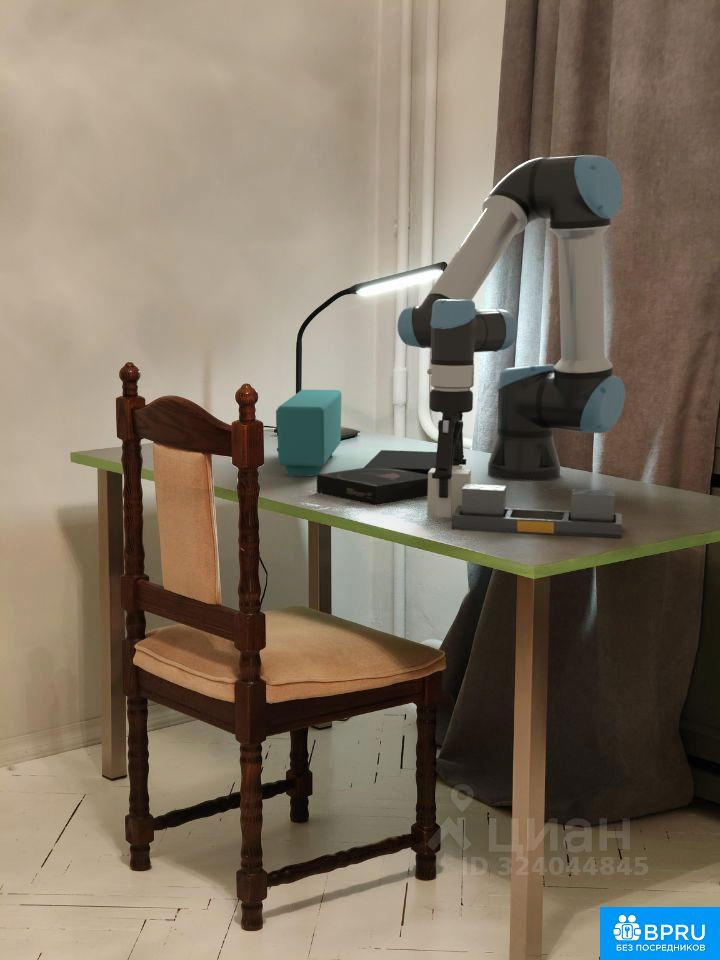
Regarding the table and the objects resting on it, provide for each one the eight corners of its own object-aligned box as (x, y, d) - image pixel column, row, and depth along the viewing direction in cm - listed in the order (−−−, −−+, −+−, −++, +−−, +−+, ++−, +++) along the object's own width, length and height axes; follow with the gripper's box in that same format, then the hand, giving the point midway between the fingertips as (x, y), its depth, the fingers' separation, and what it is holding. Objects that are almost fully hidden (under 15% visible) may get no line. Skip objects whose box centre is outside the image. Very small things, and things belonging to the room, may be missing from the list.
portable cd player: (439, 496, 237) (439, 476, 236) (375, 507, 225) (375, 486, 225) (380, 484, 249) (380, 465, 248) (316, 495, 237) (316, 474, 237)
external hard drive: (443, 465, 272) (443, 452, 272) (432, 484, 250) (432, 469, 249) (380, 463, 275) (380, 450, 274) (363, 481, 252) (363, 466, 252)
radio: (297, 453, 286) (297, 389, 283) (341, 454, 285) (341, 389, 282) (273, 478, 252) (272, 406, 250) (323, 479, 251) (323, 407, 249)
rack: (458, 518, 215) (458, 481, 214) (621, 526, 209) (623, 488, 208) (451, 529, 206) (452, 490, 205) (621, 538, 200) (623, 499, 199)
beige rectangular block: (430, 511, 220) (431, 468, 219) (469, 513, 219) (470, 469, 218) (427, 516, 216) (428, 472, 215) (466, 518, 215) (467, 473, 213)
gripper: (440, 381, 226) (437, 494, 230) (419, 395, 202) (416, 521, 206) (480, 382, 225) (477, 496, 229) (464, 397, 201) (461, 523, 205)
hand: (448, 508), depth 217 cm, fingers open, 13 cm apart
